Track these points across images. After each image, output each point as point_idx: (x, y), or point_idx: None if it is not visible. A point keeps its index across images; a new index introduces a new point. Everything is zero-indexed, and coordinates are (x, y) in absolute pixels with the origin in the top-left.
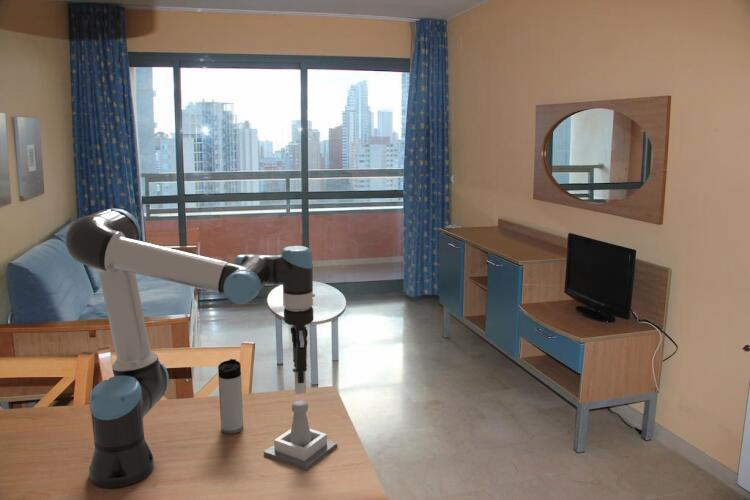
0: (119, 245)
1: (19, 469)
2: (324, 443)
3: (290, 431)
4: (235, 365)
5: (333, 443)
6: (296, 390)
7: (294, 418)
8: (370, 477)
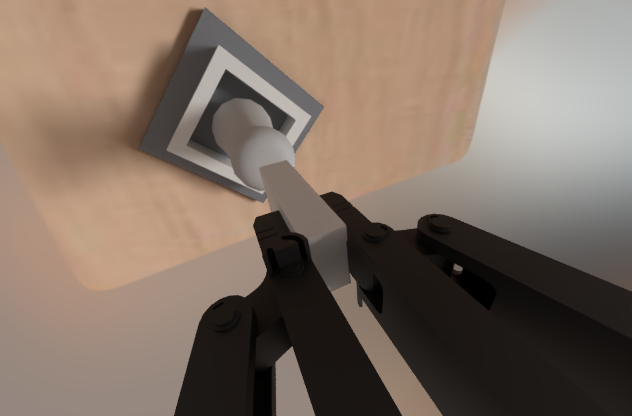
0: None
1: None
2: None
3: (274, 98)
4: None
5: (261, 196)
6: (263, 179)
7: (242, 129)
8: (148, 274)
